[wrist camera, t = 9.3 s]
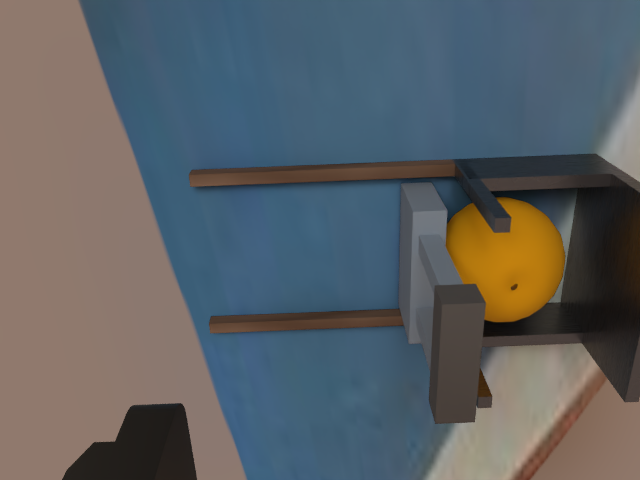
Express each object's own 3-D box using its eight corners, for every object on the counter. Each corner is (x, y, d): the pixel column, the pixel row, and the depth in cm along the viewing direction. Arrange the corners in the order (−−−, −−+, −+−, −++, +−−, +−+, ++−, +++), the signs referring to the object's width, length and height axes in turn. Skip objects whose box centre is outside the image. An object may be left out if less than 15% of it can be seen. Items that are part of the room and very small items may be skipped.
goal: (451, 159, 39) (495, 218, 30) (595, 153, 39) (683, 210, 30) (442, 316, 44) (477, 408, 35) (570, 311, 44) (638, 401, 35)
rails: (191, 170, 39) (188, 174, 38) (451, 159, 39) (455, 164, 38) (212, 325, 44) (210, 333, 43) (442, 316, 44) (445, 323, 43)
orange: (503, 302, 43) (539, 365, 36) (407, 264, 42) (426, 322, 35) (564, 209, 40) (616, 258, 33) (463, 164, 39) (495, 206, 32)
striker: (400, 183, 39) (443, 283, 27) (431, 182, 39) (487, 281, 27) (398, 303, 43) (434, 440, 30) (426, 302, 43) (473, 438, 30)
